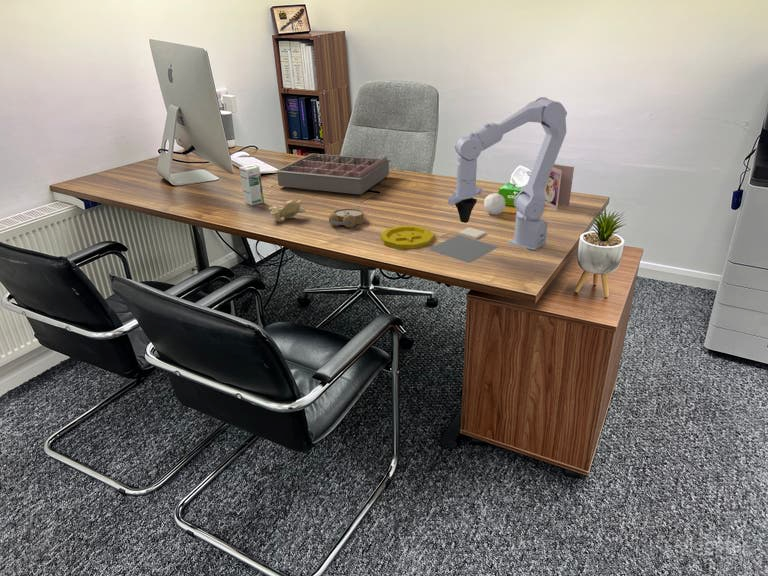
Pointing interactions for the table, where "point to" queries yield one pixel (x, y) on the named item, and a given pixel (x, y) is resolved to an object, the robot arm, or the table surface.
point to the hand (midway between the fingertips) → (464, 221)
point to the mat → (463, 248)
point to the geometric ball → (494, 204)
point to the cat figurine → (286, 210)
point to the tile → (472, 233)
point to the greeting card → (559, 186)
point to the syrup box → (251, 184)
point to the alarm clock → (346, 217)
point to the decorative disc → (406, 237)
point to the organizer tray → (334, 173)
